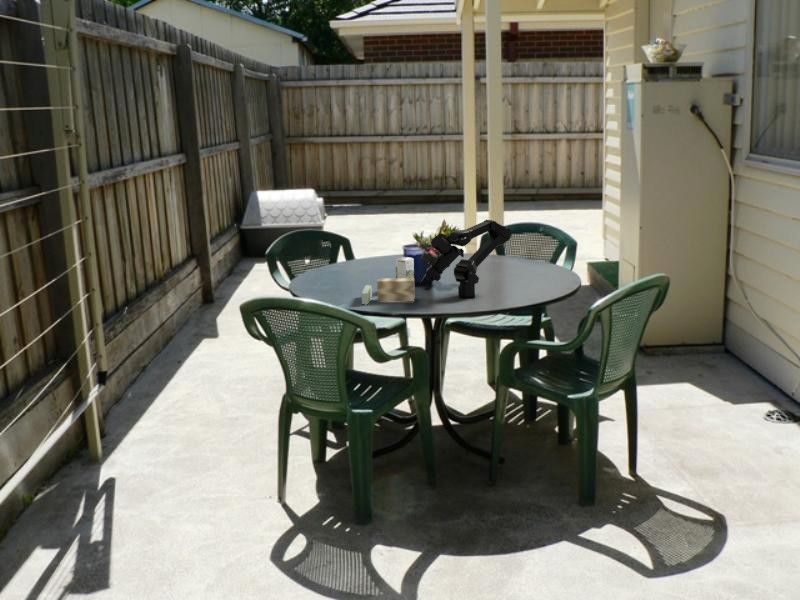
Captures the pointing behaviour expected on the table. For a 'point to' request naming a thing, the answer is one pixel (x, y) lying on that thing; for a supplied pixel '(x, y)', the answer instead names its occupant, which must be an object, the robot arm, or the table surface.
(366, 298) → the sage batten
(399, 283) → the beech block
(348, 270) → the table surface
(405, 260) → the syrup box
